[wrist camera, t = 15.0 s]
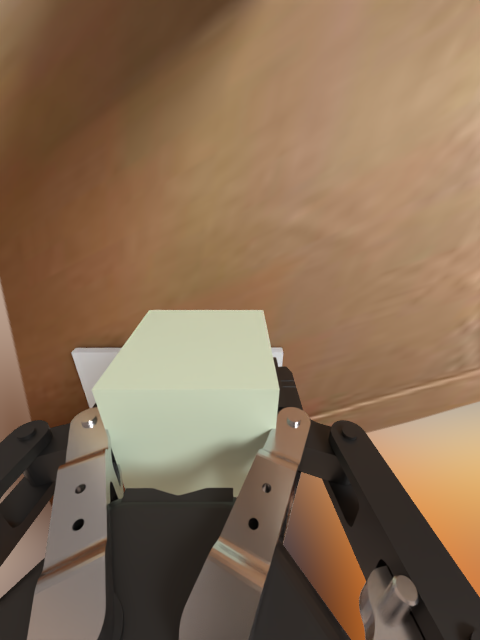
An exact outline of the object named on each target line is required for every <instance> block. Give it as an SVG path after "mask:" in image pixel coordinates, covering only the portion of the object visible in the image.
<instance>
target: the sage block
mask: <svg viewBox="0 0 480 640" xmlns="http://www.w3.org/2000/svg"><path fill="white" fill-rule="evenodd" d="M279 391H280V389H279V384H278V379H277V374H276V369H275V365H274V360H273V355H272V350H271V345H270V340H269V336H268V331H267V326H266V321H265V316H264V312H263V310H149V311H148V313H147V314H146V315H145V317H144V318H143V320H142V321H141V322H140V324H139V325H138V326H137V328H136V329H135V331H134V332H133V333H132V335H131V336H130V337H129V339H128V340H127V342H126V343H125V344H124V346H123V347H122V348H121V350H120V351H119V353H118V354H117V355H116V357H115V358H114V360H113V361H112V362H111V364H110V365H109V366H108V368H107V369H106V371H105V372H104V373H103V375H102V376H101V377H100V379H99V380H98V382H97V383H96V384H95V386H94V387H93V388H92V392H93V395H94V398H95V401H96V404H97V407H98V410H99V413H100V416H101V419H102V422H103V425H104V428H105V429H108V432H109V435H110V438H111V448H112V451H113V454H114V457H115V460H116V463H117V464H119V465H120V468H121V471H122V481H123V484H124V487H125V489H126V488H154V489H157V490H161V491H164V492H167V493H171V494H174V495H183V494H186V493H190V492H194V491H197V490H201V489H204V488H233V497H238V495H239V492H240V490H241V488H242V486H243V483H244V481H245V479H246V477H247V475H248V472H249V470H250V468H251V466H252V463H253V461H254V459H255V457H256V455H257V452H258V451H259V449H260V448H261V449H263V447H264V445H265V443H266V441H267V438H268V436H269V434H270V432H271V429H276V422H277V411H278V401H279Z"/></svg>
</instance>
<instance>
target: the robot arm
mask: <svg viewBox="0 0 480 640" xmlns="http://www.w3.org/2000/svg"><path fill="white" fill-rule="evenodd" d="M273 360H274V365H275V369H276V374H277V379H278V384H279V389H280V391H279V401H278V411H277V422H276V429H271V432H270V434H269V436H268V438H267V441H266V443H265V445H264V447H263V449H261V448H260V449H259V451H258V452H257V455H256V457H255V459H254V461H253V463H252V466H251V468H250V470H249V472H248V475H247V477H246V479H245V481H244V483H243V486H242V488H241V490H240V492H239V495H238V497H233V488H204V489H201V490H197V491H194V492H190V493H186V494H183V495H174V494H171V493H167V492H164V491H161V490H157V489H154V488H126V490H125V492H124V493H123V482H122V471H121V468H120V465H119V464H117V463H116V460H115V457H114V454H113V451H112V448H111V438H110V435H109V432H108V429H105V428H104V425H103V422H102V419H101V416H100V413H99V410H98V407H97V404H96V403H95V404H94V406H93V407H92V408H90V409H87V410H84V411H82V412H81V413H79V414H78V415H77V416H75V417H74V419H73V420H72V421H71V423H69V424H65V425H61V426H57V427H53V428H49V425H48V423H47V422H45V421H42V420H37V421H32V422H29V423H26V424H24V425H22V426H20V427H18V428H17V429H15V430H14V431H13V432H12V433H11V434H9V435H8V436H7V437H6V438H5V439H4V440H3V441H2V442H1V443H0V498H1V497H2V496H3V494H4V493H5V492H6V491H7V490H8V488H9V487H10V486H11V485H12V484H13V483H14V482H15V481H16V480H17V478H19V476H20V475H21V474H22V473H23V474H24V476H25V477H24V478H23V479H22V480H21V481H20V482H19V484H18V485H17V486H16V487H15V488H14V489H13V490H12V491H11V492H10V494H9V495H8V496H7V497H6V498H5V499H4V500H3V502H2V503H1V504H0V566H1V565H2V564H3V562H4V561H5V560H6V558H7V557H8V556H9V554H10V553H11V551H12V550H13V549H14V547H15V546H16V545H17V543H18V542H19V541H20V539H21V538H22V537H23V535H24V534H25V532H26V531H27V530H28V528H29V527H30V526H31V524H32V523H33V522H34V520H35V519H36V518H37V516H38V515H39V514H40V512H41V511H42V509H43V508H44V507H45V505H46V504H47V503H48V501H49V500H50V499H51V497H52V496H53V495H54V499H53V506H52V513H51V519H50V526H49V533H48V540H47V547H46V554H45V558H44V559H43V560H42V561H41V562H40V563H39V564H37V565H36V566H35V567H34V568H33V569H32V570H31V571H30V572H29V573H28V574H27V575H25V576H24V577H23V578H22V579H21V580H20V581H19V582H18V583H17V584H16V585H15V586H14V587H12V588H11V589H10V590H9V591H8V592H7V593H6V594H5V595H4V596H3V597H1V598H0V640H351V639H350V638H349V636H348V635H347V633H346V632H345V631H344V629H343V628H342V626H341V625H340V624H339V622H338V621H337V619H336V618H335V617H334V615H333V614H332V612H331V611H330V610H329V608H328V607H327V605H326V604H325V603H324V601H323V600H322V598H321V597H320V596H319V594H318V593H317V591H316V590H315V589H314V587H313V586H312V585H311V583H310V582H309V580H308V579H307V577H306V576H305V575H304V573H303V572H302V570H301V569H300V568H299V566H298V565H297V564H296V562H295V561H294V559H293V558H292V557H291V555H290V554H289V552H288V551H287V550H286V548H285V547H284V545H283V542H284V539H285V535H286V531H287V527H288V523H289V518H290V513H291V509H292V505H293V501H294V498H295V494H296V490H297V486H298V482H299V479H300V475H301V472H304V473H307V474H310V475H313V476H316V477H319V478H322V480H323V482H324V485H325V487H326V489H327V491H328V494H329V496H330V498H331V501H332V503H333V505H334V508H335V510H336V512H337V515H338V517H339V519H340V522H341V524H342V526H343V528H344V531H345V533H346V535H347V538H348V540H349V542H350V545H351V547H352V549H353V552H354V554H355V556H356V559H357V561H358V563H359V565H360V568H361V570H362V572H363V575H364V577H365V579H366V583H365V585H364V587H363V589H362V591H361V594H360V600H359V608H360V613H361V617H362V621H363V624H364V628H365V638H366V640H480V597H479V596H478V595H477V593H476V592H475V590H474V589H473V587H472V586H471V584H470V583H469V582H468V580H467V579H466V577H465V576H464V574H463V573H462V572H461V570H460V569H459V567H458V566H457V564H456V563H455V561H454V560H453V558H452V557H451V556H450V554H449V553H448V551H447V550H446V548H445V547H444V545H443V544H442V543H441V541H440V540H439V538H438V537H437V535H436V534H435V533H434V531H433V530H432V528H431V527H430V525H429V524H428V522H427V521H426V519H425V518H424V517H423V515H422V514H421V512H420V511H419V509H418V508H417V506H416V505H415V504H414V502H413V501H412V499H411V498H410V496H409V495H408V493H407V492H406V491H405V489H404V488H403V486H402V485H401V483H400V482H399V480H398V479H397V478H396V476H395V475H394V473H393V472H392V470H391V469H390V468H389V466H388V465H387V463H386V462H385V460H384V459H383V457H382V456H381V455H380V453H379V452H378V450H377V449H376V447H375V446H374V444H373V443H372V441H371V440H370V439H369V437H368V436H367V434H366V433H365V431H364V430H363V429H362V428H361V427H359V426H358V425H357V424H355V423H353V422H350V421H344V420H342V421H337V422H335V423H334V424H333V425H332V427H330V426H327V425H323V424H319V423H317V422H314V421H313V420H311V419H310V418H309V416H308V415H307V414H306V413H305V412H304V411H303V409H302V405H301V402H300V399H299V395H298V392H297V388H296V385H295V382H294V378H293V375H292V372H291V371H290V370H289V369H288V368H287V367H278V363H277V358H276V357H273Z"/></svg>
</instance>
